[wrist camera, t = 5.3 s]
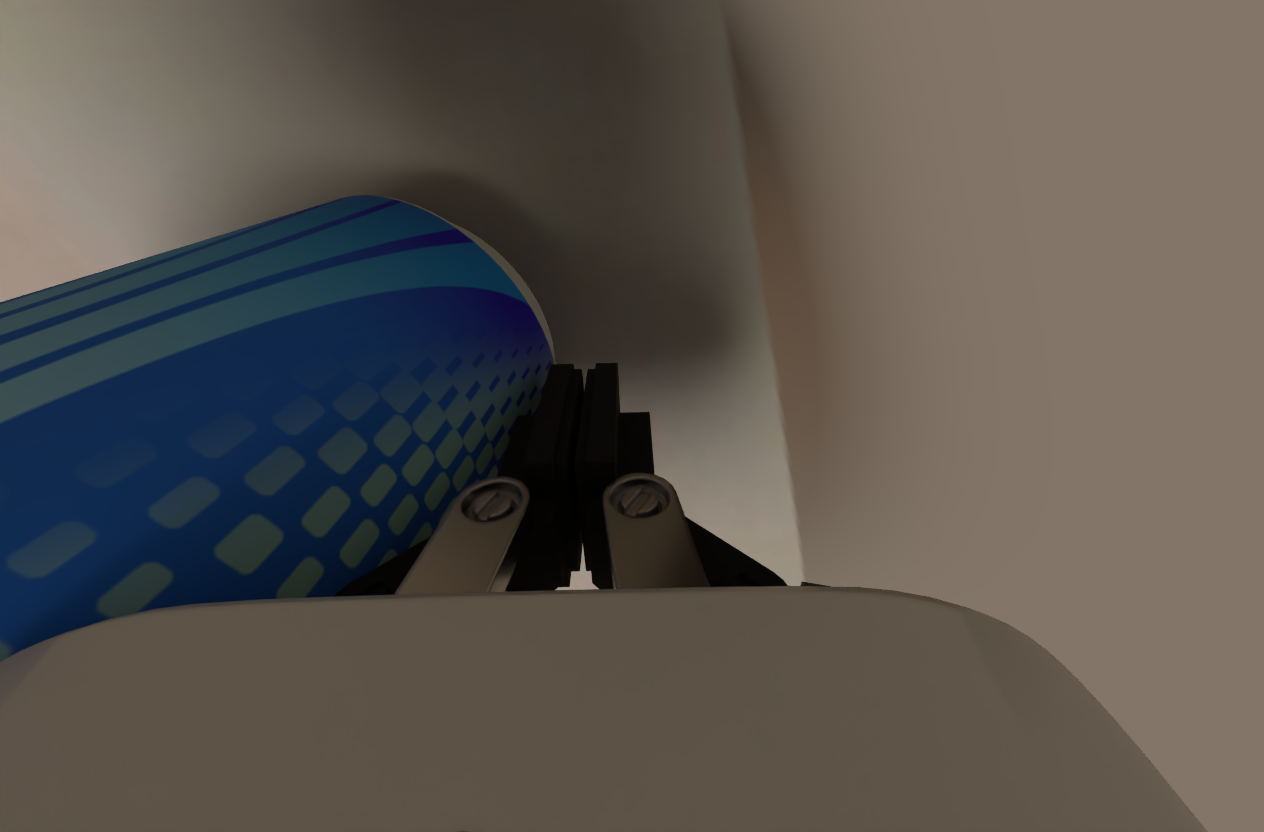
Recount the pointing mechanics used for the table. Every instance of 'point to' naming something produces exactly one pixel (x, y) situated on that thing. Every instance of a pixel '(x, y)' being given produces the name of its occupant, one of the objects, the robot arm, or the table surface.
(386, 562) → the robot arm
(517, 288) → the beer can
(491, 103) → the table surface
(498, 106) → the table surface
